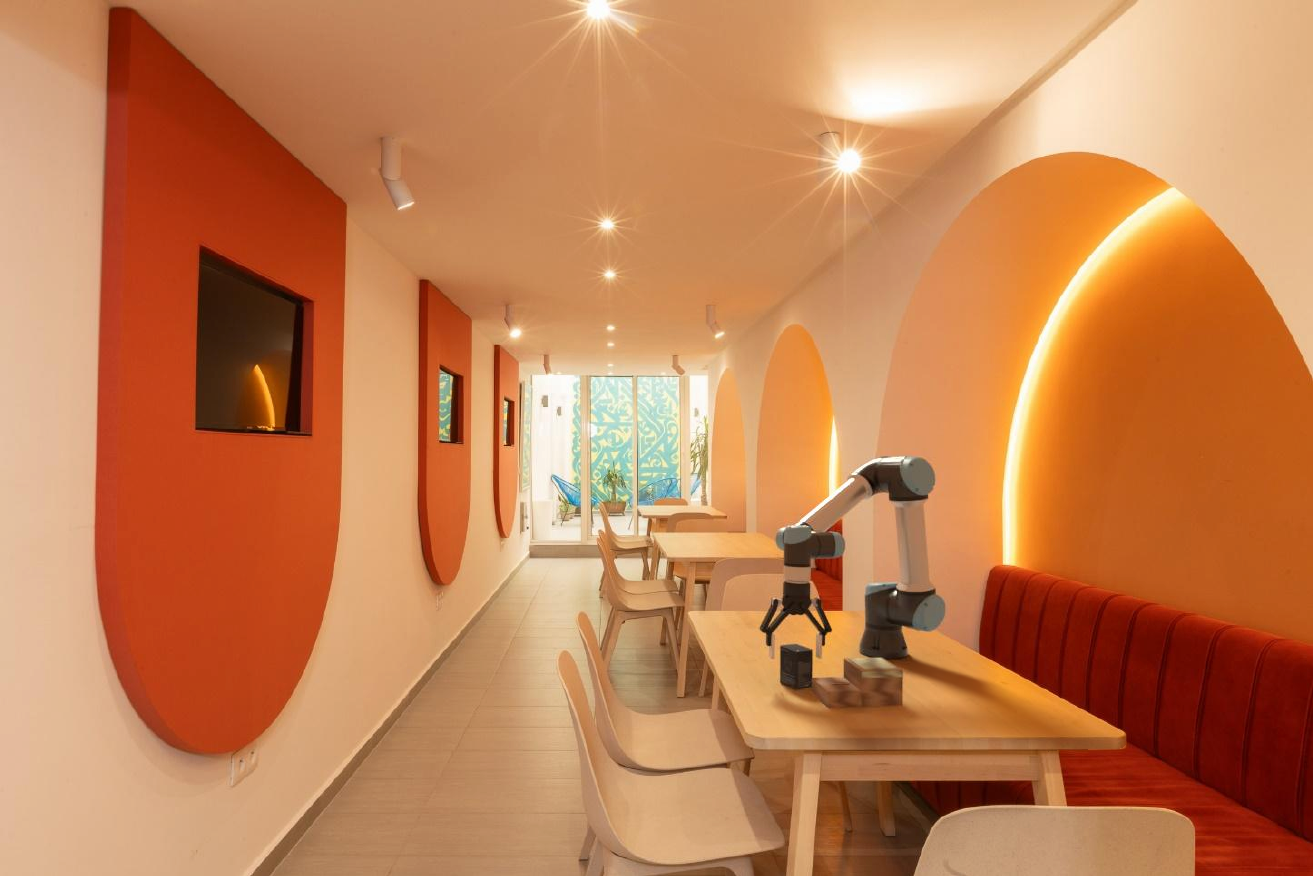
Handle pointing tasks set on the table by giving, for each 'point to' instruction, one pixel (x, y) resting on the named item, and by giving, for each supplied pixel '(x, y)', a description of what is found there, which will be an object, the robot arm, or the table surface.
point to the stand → (862, 684)
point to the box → (796, 666)
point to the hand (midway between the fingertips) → (795, 658)
